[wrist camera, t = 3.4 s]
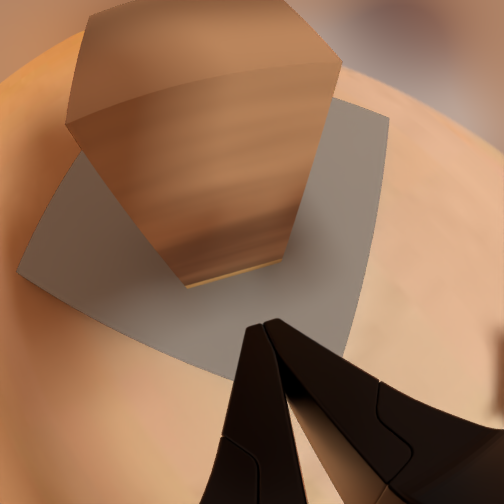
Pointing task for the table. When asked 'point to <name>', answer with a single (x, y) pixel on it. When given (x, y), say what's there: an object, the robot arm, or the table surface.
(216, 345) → the rubber mat
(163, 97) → the walnut block
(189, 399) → the table surface
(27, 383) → the table surface
